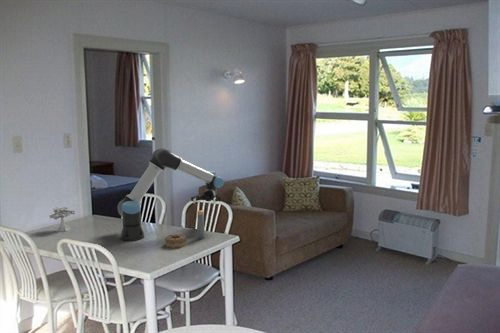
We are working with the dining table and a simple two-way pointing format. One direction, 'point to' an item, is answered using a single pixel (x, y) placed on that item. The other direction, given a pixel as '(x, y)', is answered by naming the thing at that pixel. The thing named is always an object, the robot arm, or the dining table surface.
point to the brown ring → (175, 241)
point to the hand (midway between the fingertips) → (203, 201)
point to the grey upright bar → (200, 224)
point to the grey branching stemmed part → (62, 214)
